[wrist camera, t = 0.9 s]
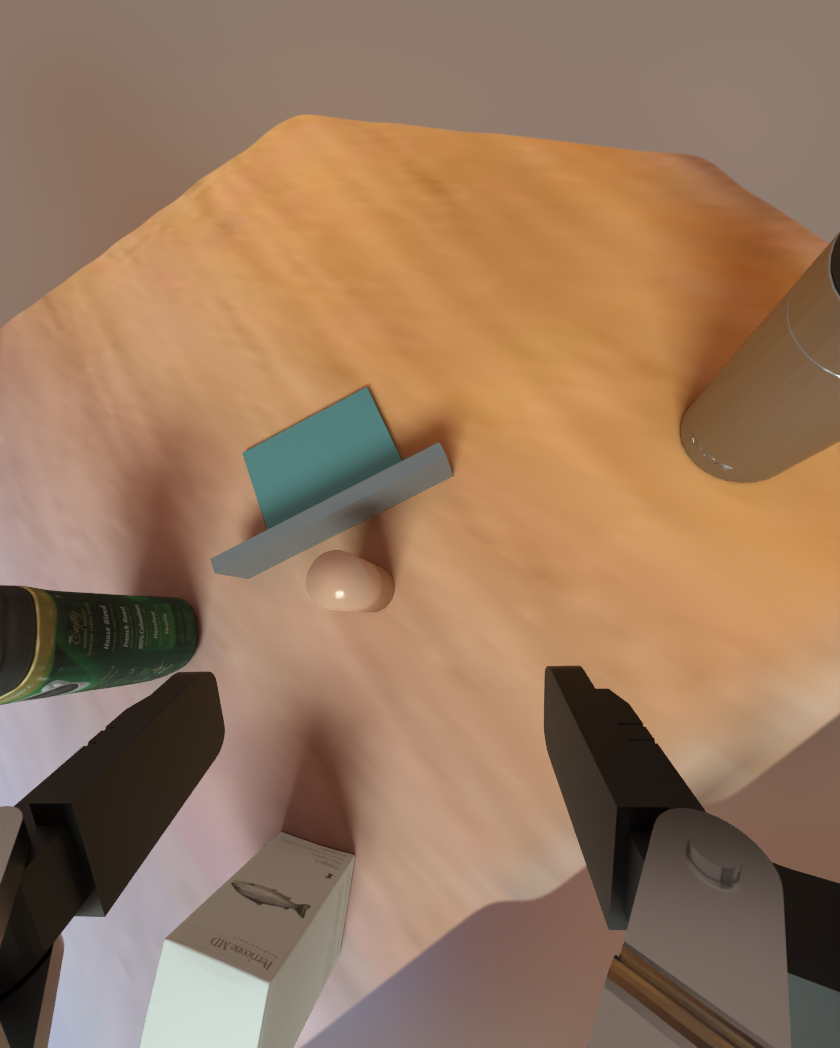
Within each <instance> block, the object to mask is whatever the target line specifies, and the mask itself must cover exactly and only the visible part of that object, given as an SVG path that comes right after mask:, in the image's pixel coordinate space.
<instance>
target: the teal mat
mask: <svg viewBox="0 0 840 1048" xmlns="http://www.w3.org/2000/svg"><path fill="white" fill-rule="evenodd" d="M243 456H244V459H245V462H246V465H247V468H248V471H249V475H250V478H251V481H252V484H253V487H254V490H255V493H256V496H257V499H258V502H259V505H260V509H261V512H262V515H263V518H264V521H265V524H266V527H267V530H268V529H270V528H272V527H274V526H276V525H278V524H280V523H282V522H284V521H286V520H288V519H290V518H292V517H293V516H295V515H297V514H299V513H301V512H303V511H305V510H307V509H309V508H311V507H313V506H315V505H317V504H319V503H321V502H323V501H325V500H327V499H329V498H331V497H333V496H335V495H337V494H338V493H340V492H342V491H344V490H346V489H348V488H350V487H352V486H354V485H356V484H358V483H360V482H362V481H364V480H366V479H368V478H370V477H372V476H374V475H376V474H378V473H380V472H382V471H384V470H385V469H387V468H389V467H391V466H393V465H395V464H397V463H399V462H401V461H402V459H401V457H400V455H399V453H398V451H397V449H396V447H395V444H394V442H393V440H392V438H391V436H390V434H389V432H388V430H387V427H386V425H385V423H384V421H383V419H382V417H381V415H380V413H379V411H378V408H377V406H376V404H375V402H374V400H373V398H372V396H371V394H370V392H369V389H368V388H367V387H366V388H364V389H362V390H360V391H358V392H356V393H354V394H352V395H350V396H349V397H347V398H345V399H343V400H341V401H339V402H337V403H335V404H334V405H332V406H330V407H328V408H326V409H324V410H322V411H320V412H319V413H317V414H315V415H313V416H311V417H309V418H307V419H305V420H304V421H302V422H300V423H298V424H296V425H294V426H292V427H290V428H289V429H287V430H285V431H283V432H281V433H279V434H277V435H275V436H274V437H272V438H270V439H268V440H266V441H264V442H262V443H260V444H259V445H257V446H255V447H253V448H251V449H249V450H247V451H245V452H244V453H243Z"/></svg>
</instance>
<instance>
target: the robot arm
mask: <svg viewBox="0 0 840 1048" xmlns="http://www.w3.org/2000/svg"><path fill="white" fill-rule="evenodd" d="M680 436H681V440H682V444H683V447H684V449H685V451H686V452H687V454H688V456H689V457H690V458H691V459H692V461H693V462H694V463H695V464H696V465H697V466H699V467H700V468H701V469H703V470H704V471H705V472H707V473H709V474H711V475H713V476H715V477H718V478H721V479H724V480H727V481H733V482H741V483H743V482H757V481H761V480H766V479H769V478H771V477H773V476H775V475H778V474H780V473H782V472H783V471H785V470H787V469H789V468H791V467H793V466H795V465H796V464H798V463H800V462H802V461H804V460H806V459H808V458H810V457H812V456H814V455H816V454H817V453H819V452H821V451H823V450H825V449H827V448H829V447H830V446H832V445H834V444H836V443H838V442H840V232H839V233H838V234H837V235H836V237H835V238H834V239H833V240H832V241H831V242H830V244H829V245H828V246H827V247H826V248H825V249H824V251H823V252H822V253H821V254H820V255H819V256H818V258H817V259H816V260H815V261H814V262H813V263H812V264H811V266H810V267H809V268H808V269H807V270H806V271H805V273H804V274H803V275H802V276H801V278H800V279H799V280H798V281H797V282H796V283H795V285H794V286H793V287H792V288H791V289H790V290H789V292H788V293H787V294H786V295H785V296H784V297H783V299H782V300H781V301H780V302H779V303H778V304H777V306H776V307H775V308H774V309H773V310H772V311H771V312H770V314H769V315H768V316H767V317H766V318H765V319H764V321H763V322H762V323H761V324H760V325H759V326H758V328H757V329H756V330H755V331H754V332H753V333H752V335H751V336H750V337H749V338H748V339H747V340H746V341H745V343H744V344H743V345H742V346H741V347H740V348H739V350H738V351H737V352H736V353H735V354H734V355H733V357H732V358H731V359H730V360H729V361H728V362H727V364H726V365H725V366H724V367H723V368H722V369H721V370H720V372H719V373H718V374H717V375H716V376H715V377H714V379H713V380H712V381H711V382H710V383H709V384H708V385H707V387H706V388H705V389H704V390H703V391H702V392H701V394H700V395H699V396H698V397H697V398H696V399H695V401H694V402H693V403H692V404H691V405H690V406H689V408H688V409H687V411H686V412H685V414H684V416H683V419H682V422H681V426H680ZM224 733H225V727H224V720H223V715H222V709H221V704H220V698H219V693H218V687H217V682H216V678H215V676H214V675H213V673H211V672H178V673H176V674H174V675H173V676H171V677H170V678H169V679H168V680H167V681H166V682H165V683H164V684H162V685H161V686H160V687H159V688H158V689H157V690H156V691H155V692H153V693H152V694H151V695H150V696H148V697H146V698H145V699H143V700H141V701H140V702H138V703H136V704H134V705H133V706H131V707H129V708H128V709H126V710H125V711H124V712H122V713H121V714H120V715H119V716H118V717H117V718H116V719H114V720H113V721H112V722H111V723H110V724H109V725H107V726H106V729H105V731H101V732H99V733H98V734H97V735H96V736H95V737H94V738H92V739H91V740H90V741H89V742H88V745H87V746H83V747H82V748H81V749H80V750H79V751H77V752H76V753H75V754H74V755H73V756H72V757H70V758H69V759H68V760H67V761H66V762H65V763H64V764H62V765H61V766H60V767H59V768H58V769H57V770H55V771H54V772H53V773H52V774H51V775H50V776H49V777H47V778H46V779H45V780H44V781H43V782H42V783H40V784H39V785H38V786H37V787H36V788H35V789H33V790H32V791H31V792H30V793H29V794H28V795H27V796H25V797H24V798H23V799H22V800H21V801H20V802H18V803H17V804H16V805H15V806H14V807H11V806H3V807H0V1048H47V1047H48V1041H49V1035H50V1030H51V1024H52V1018H53V1012H54V1006H55V1000H56V994H57V988H58V982H59V977H60V971H61V965H62V959H63V953H64V940H63V937H62V934H61V932H62V931H63V930H64V929H65V927H66V926H67V925H68V923H69V922H70V921H71V919H72V918H73V917H74V916H92V917H105V916H106V914H107V913H108V912H109V910H110V909H111V907H112V906H113V904H114V903H115V902H116V900H117V899H118V897H119V896H120V894H121V893H122V892H123V890H124V889H125V887H126V886H127V884H128V883H129V882H130V880H131V879H132V877H133V876H134V874H135V873H136V872H137V870H138V869H139V867H140V866H141V864H142V863H143V862H144V860H145V859H146V857H147V856H148V854H149V853H150V852H151V850H152V849H153V847H154V846H155V844H156V843H157V842H158V840H159V839H160V837H161V836H162V834H163V833H164V831H165V830H166V829H167V827H168V826H169V824H170V823H171V821H172V820H173V819H174V817H175V816H176V814H177V813H178V811H179V810H180V809H181V807H182V806H183V804H184V803H185V801H186V800H187V799H188V797H189V796H190V794H191V793H192V791H193V790H194V789H195V787H196V786H197V784H198V783H199V781H200V780H201V779H202V777H203V776H204V774H205V773H206V771H207V770H208V769H209V767H210V766H211V764H212V763H213V761H214V760H215V759H216V757H217V755H218V754H219V752H220V750H221V747H222V744H223V740H224ZM544 734H545V741H546V746H547V751H548V754H549V758H550V760H551V763H552V766H553V769H554V772H555V775H556V778H557V781H558V784H559V787H560V789H561V792H562V795H563V798H564V801H565V804H566V807H567V810H568V813H569V816H570V818H571V821H572V824H573V827H574V830H575V833H576V836H577V839H578V842H579V845H580V848H581V850H582V853H583V856H584V859H585V862H586V865H587V868H588V871H589V874H590V877H591V879H592V882H593V885H594V888H595V891H596V894H597V897H598V900H599V903H600V905H601V908H602V911H603V914H604V917H605V920H606V923H607V925H608V928H609V930H627V931H626V935H625V939H624V943H623V946H622V950H621V953H620V955H619V957H618V956H617V955H615V956H614V958H613V960H612V963H611V965H610V968H609V971H608V974H607V978H606V981H605V984H604V988H603V991H602V995H601V999H600V1002H599V1006H598V1010H597V1013H596V1017H595V1021H594V1024H593V1028H592V1032H591V1035H590V1039H589V1042H588V1046H587V1048H840V884H839V883H836V882H832V881H829V880H826V879H822V878H818V877H815V876H812V875H809V874H805V873H802V872H798V871H795V870H791V869H789V868H786V867H783V866H780V865H777V864H775V863H773V862H771V861H770V859H769V858H768V857H767V855H766V854H765V853H764V852H763V851H762V849H761V848H760V847H759V846H758V845H757V844H756V843H755V842H754V841H752V840H751V839H750V838H749V837H748V836H747V835H746V834H744V833H743V832H742V831H740V830H739V829H738V828H736V827H734V826H733V825H731V824H729V823H728V822H726V821H724V820H722V819H720V818H718V817H716V816H714V815H711V814H709V813H706V811H705V810H704V808H703V807H702V806H701V804H700V803H699V801H698V800H697V799H696V797H695V796H694V794H693V793H692V792H691V790H690V789H689V787H688V786H687V785H686V783H685V782H684V780H683V779H682V778H681V776H680V775H679V773H678V772H677V771H676V769H675V768H674V766H673V765H672V764H671V762H670V761H669V759H668V758H667V756H666V755H665V754H664V752H663V751H662V749H661V748H660V747H659V745H658V744H655V741H654V738H653V737H652V735H651V734H650V733H649V731H648V730H647V728H646V727H643V723H642V721H641V720H640V719H639V717H638V716H637V714H636V713H635V712H634V710H633V709H632V707H631V706H630V705H629V704H628V703H627V702H626V701H624V700H623V699H622V698H620V697H619V696H618V695H616V694H615V693H614V692H612V691H611V690H610V689H595V687H594V686H593V684H592V683H591V681H590V679H589V678H588V676H587V674H586V673H585V671H584V670H583V668H582V667H581V666H547V667H546V670H545V689H544Z"/></svg>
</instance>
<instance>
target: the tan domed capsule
mask: <svg viewBox="0 0 840 1048" xmlns="http://www.w3.org/2000/svg"><path fill="white" fill-rule="evenodd" d="M307 590H308V593H309V595H310V597H311V599H312V600H313V601H314V602H315V603H316V604H317V605H318V606H320V607H322V608H324V609H328V610H341V611H356V612H378V611H380V610H382V609H384V608H385V607H386V606H387V605H388V604H389V603H390V602H391V600H392V598H393V595H394V581H393V578H392V577H391V575H390V574H389V572H388V571H386V570H385V569H383V568H382V567H379V566H377V565H375V564H372V563H370V562H368V561H366V560H363V559H361V558H359V557H357V556H354V555H352V554H350V553H347V552H345V551H341V550H332V551H328V552H326V553H323V554H322V555H320V556H319V557H318V558H317V559H316V560H315V561H314V562H313V563H312V565H311V567H310V569H309V571H308V574H307Z"/></svg>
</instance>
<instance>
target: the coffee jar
mask: <svg viewBox="0 0 840 1048" xmlns="http://www.w3.org/2000/svg"><path fill="white" fill-rule="evenodd" d="M196 642H197V626H196V620H195V616H194V614H193V611H192V608H191V607H190V605H189V604H188V603H187V602H186V601H184V600H182V599H179V598H170V597H153V596H129V595H111V594H95V593H77V592H62V591H51V590H43V589H38V588H32V587H26V586H2V585H0V705H3V704H8V703H14V702H20V701H27V700H33V699H39V698H46V697H52V696H59V695H65V694H71V693H77V692H84V691H90V690H96V689H103V688H110V687H117V686H123V685H129V684H136V683H141V682H146V681H151V680H154V679H157V678H160V677H163V676H166V675H168V674H171V673H173V672H175V671H176V670H179V669H180V668H182V667H184V666H185V665H186V664H187V663H188V662H189V661H190V660H191V658H192V656H193V654H194V652H195V648H196Z"/></svg>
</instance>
